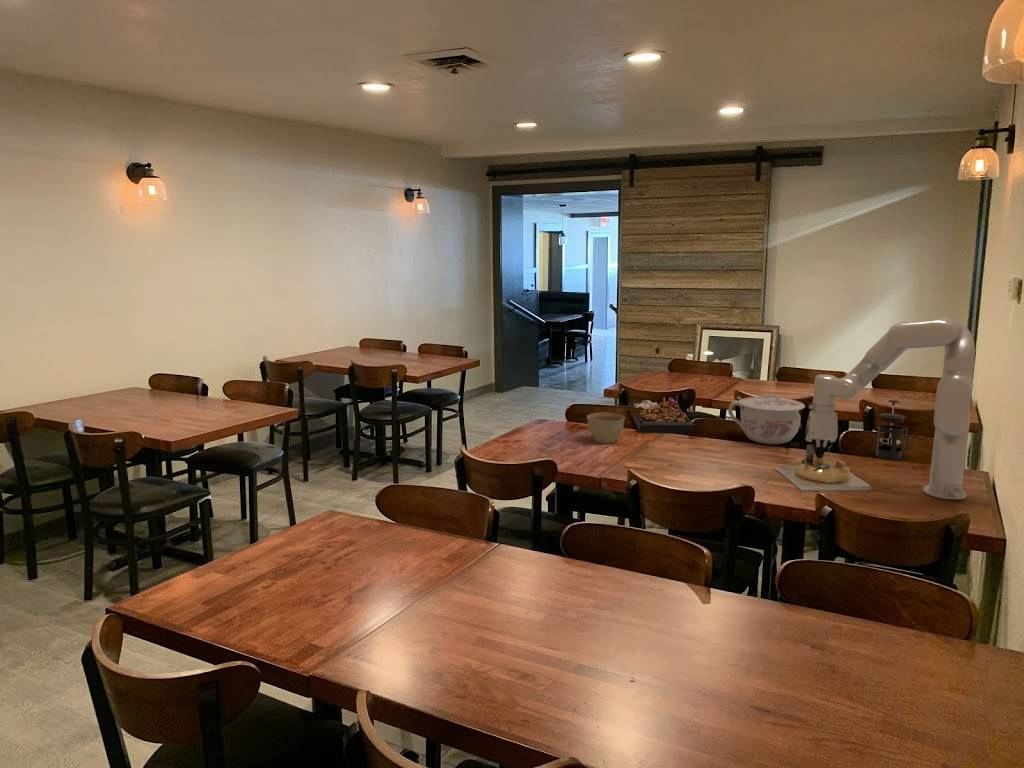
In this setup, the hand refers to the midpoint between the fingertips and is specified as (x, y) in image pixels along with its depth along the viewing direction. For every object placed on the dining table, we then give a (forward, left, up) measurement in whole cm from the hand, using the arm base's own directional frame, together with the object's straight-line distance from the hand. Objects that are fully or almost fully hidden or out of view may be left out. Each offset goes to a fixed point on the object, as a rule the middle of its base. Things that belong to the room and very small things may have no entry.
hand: (819, 456), depth 266 cm
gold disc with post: (-8, +2, -5) cm, 9 cm away
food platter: (+82, +42, -7) cm, 92 cm away
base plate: (-8, +2, -6) cm, 10 cm away
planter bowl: (+46, +73, -7) cm, 87 cm away
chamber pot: (+46, +2, -7) cm, 47 cm away
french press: (+21, -38, -7) cm, 44 cm away
